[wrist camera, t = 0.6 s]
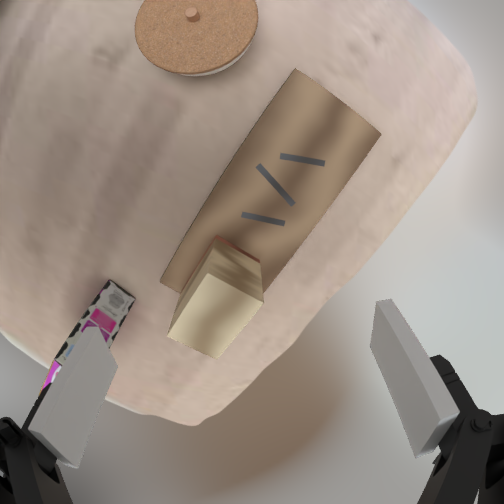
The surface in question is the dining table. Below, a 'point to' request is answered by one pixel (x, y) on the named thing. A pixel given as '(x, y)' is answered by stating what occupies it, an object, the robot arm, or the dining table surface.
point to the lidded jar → (195, 33)
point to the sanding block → (218, 299)
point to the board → (279, 180)
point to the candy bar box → (96, 323)
